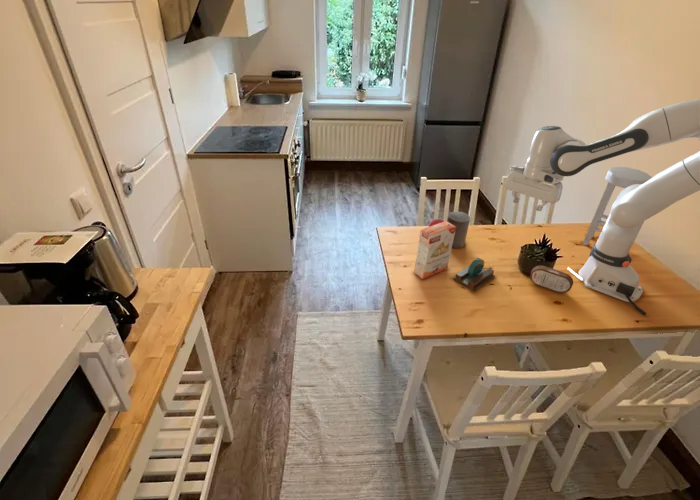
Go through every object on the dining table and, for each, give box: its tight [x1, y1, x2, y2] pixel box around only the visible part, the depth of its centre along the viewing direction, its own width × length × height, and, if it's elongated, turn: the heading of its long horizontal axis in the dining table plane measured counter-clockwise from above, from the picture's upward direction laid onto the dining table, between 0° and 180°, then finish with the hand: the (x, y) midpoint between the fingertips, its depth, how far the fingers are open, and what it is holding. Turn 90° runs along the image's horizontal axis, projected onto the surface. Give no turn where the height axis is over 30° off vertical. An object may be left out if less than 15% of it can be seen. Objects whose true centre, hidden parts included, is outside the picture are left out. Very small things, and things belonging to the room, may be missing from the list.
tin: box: [529, 265, 574, 294], centre depth 149 cm, size 15×3×8 cm, turn 56°
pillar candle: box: [446, 211, 471, 249], centre depth 174 cm, size 10×10×15 cm
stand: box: [452, 265, 495, 292], centre depth 155 cm, size 10×14×3 cm
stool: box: [581, 166, 653, 246], centre depth 170 cm, size 16×16×35 cm
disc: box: [468, 257, 485, 278], centre depth 153 cm, size 2×8×8 cm, turn 130°
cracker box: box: [413, 220, 456, 280], centre depth 153 cm, size 14×6×21 cm, turn 123°
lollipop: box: [428, 218, 445, 227], centre depth 169 cm, size 8×8×15 cm
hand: (526, 206), depth 147 cm, fingers open, 8 cm apart
